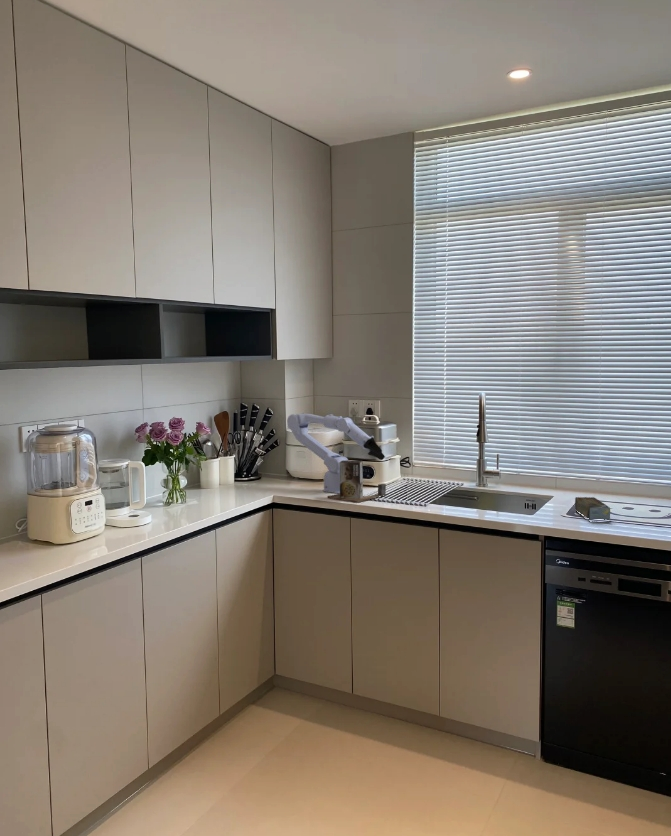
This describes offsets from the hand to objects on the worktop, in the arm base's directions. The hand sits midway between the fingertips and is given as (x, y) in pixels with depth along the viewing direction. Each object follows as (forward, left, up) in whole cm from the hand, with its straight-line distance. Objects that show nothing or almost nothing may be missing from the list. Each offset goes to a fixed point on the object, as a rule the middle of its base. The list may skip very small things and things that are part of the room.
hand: (382, 455), depth 301 cm
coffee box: (-7, -12, -18) cm, 23 cm away
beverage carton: (+83, +21, -19) cm, 87 cm away
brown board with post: (-8, -7, -18) cm, 21 cm away
